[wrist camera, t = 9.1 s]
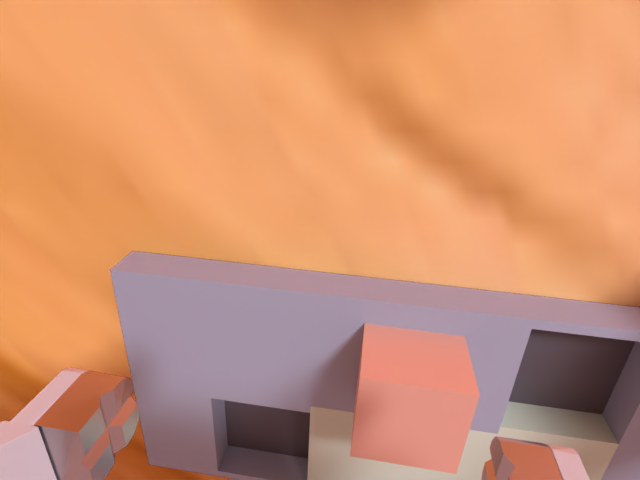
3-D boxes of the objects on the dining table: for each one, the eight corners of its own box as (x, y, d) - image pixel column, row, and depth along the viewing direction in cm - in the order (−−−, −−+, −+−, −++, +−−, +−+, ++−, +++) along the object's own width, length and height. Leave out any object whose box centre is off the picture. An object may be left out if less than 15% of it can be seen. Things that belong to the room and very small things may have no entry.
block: (355, 395, 21) (349, 455, 18) (364, 323, 19) (360, 377, 16) (446, 409, 21) (456, 474, 18) (464, 336, 19) (479, 395, 16)
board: (165, 445, 28) (133, 503, 25) (132, 250, 22) (82, 292, 18) (643, 524, 25) (686, 604, 22) (769, 321, 19) (859, 388, 15)
